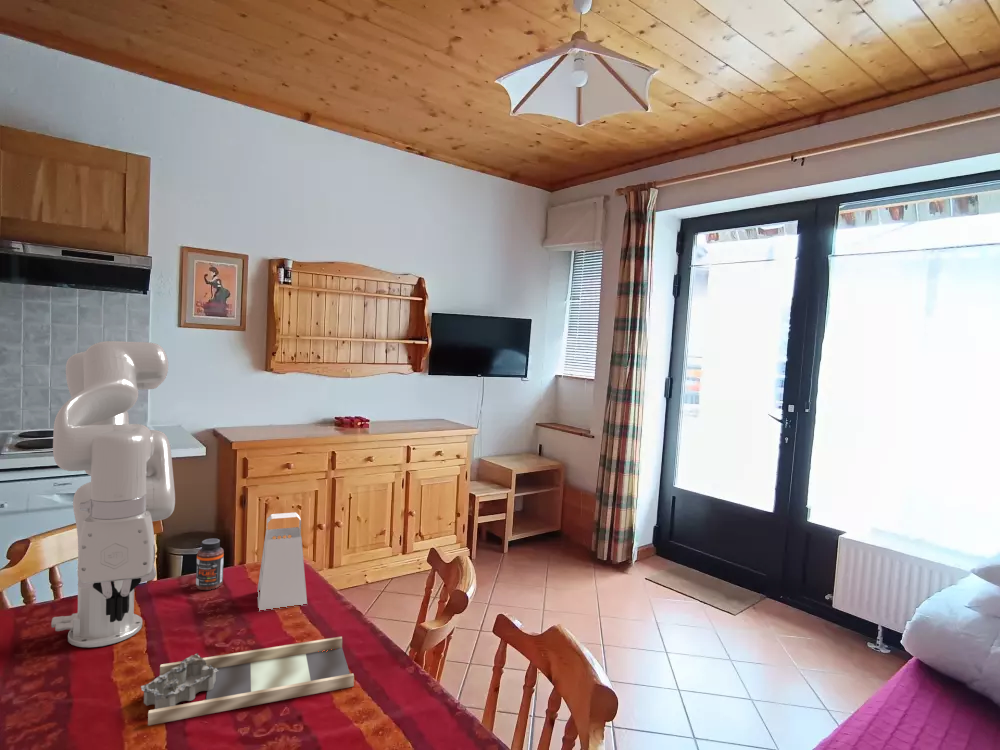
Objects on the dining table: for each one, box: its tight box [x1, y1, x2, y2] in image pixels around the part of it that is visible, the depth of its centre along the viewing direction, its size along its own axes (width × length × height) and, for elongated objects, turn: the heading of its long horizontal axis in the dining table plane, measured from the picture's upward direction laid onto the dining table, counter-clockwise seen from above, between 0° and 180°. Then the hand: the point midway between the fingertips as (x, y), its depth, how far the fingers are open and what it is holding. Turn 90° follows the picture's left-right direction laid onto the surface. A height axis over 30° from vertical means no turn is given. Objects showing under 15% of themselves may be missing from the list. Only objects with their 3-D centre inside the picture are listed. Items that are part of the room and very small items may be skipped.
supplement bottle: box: [195, 538, 225, 591], centre depth 142 cm, size 6×6×11 cm
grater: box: [256, 512, 308, 612], centre depth 137 cm, size 10×10×20 cm
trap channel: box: [147, 636, 355, 726], centre depth 105 cm, size 32×15×2 cm, turn 114°
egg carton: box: [140, 652, 219, 709], centre depth 100 cm, size 11×8×4 cm
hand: (117, 617), depth 95 cm, fingers closed
